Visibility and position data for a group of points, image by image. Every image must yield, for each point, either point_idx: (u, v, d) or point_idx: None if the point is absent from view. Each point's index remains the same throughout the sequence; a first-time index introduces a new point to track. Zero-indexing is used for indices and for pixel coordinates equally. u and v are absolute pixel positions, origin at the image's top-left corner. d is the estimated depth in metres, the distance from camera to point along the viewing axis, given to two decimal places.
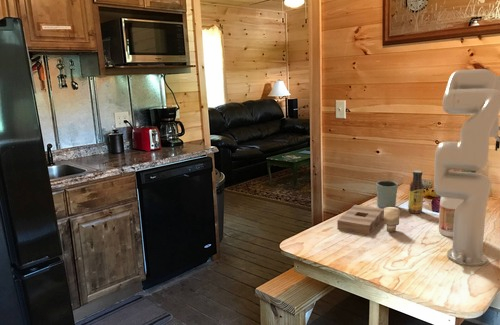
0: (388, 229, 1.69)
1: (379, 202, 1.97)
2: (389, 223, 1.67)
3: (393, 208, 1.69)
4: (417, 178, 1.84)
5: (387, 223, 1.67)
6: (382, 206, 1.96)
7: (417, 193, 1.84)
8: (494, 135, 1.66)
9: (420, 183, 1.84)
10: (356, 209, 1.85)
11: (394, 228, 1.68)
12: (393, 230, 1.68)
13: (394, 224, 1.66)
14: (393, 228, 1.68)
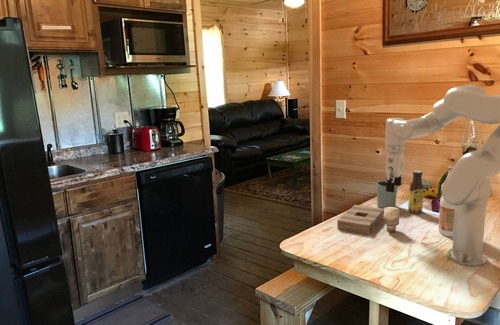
0: (388, 229, 1.69)
1: (379, 202, 1.97)
2: (389, 223, 1.67)
3: (393, 208, 1.69)
4: (417, 178, 1.84)
5: (387, 223, 1.67)
6: (382, 206, 1.96)
7: (417, 193, 1.84)
8: (403, 171, 1.66)
9: (420, 183, 1.84)
10: (356, 209, 1.85)
11: (394, 228, 1.68)
12: (393, 230, 1.68)
13: (394, 224, 1.66)
14: (393, 228, 1.68)
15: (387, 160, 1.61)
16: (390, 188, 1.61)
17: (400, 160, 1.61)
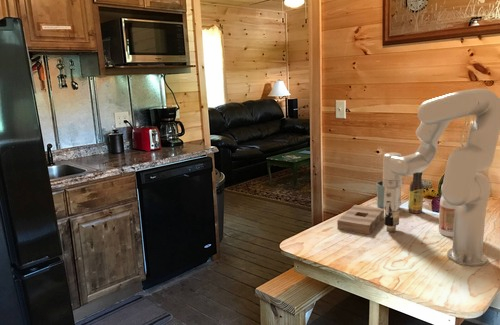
0: (388, 229, 1.69)
1: (379, 202, 1.97)
2: None
3: None
4: (417, 178, 1.84)
5: None
6: (382, 206, 1.96)
7: (417, 193, 1.84)
8: (400, 204, 1.69)
9: (420, 183, 1.84)
10: (356, 209, 1.85)
11: (394, 228, 1.68)
12: (393, 230, 1.68)
13: (394, 224, 1.66)
14: (393, 228, 1.68)
15: (385, 194, 1.64)
16: (389, 222, 1.65)
17: (397, 194, 1.64)
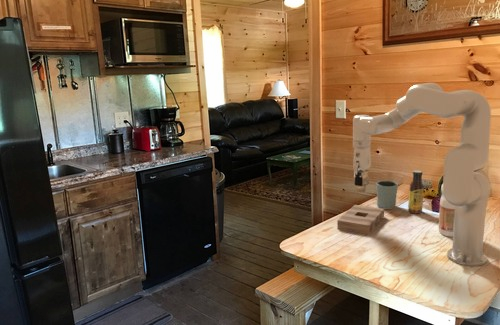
0: (358, 189, 1.76)
1: (379, 202, 1.97)
2: None
3: None
4: (417, 178, 1.84)
5: None
6: (382, 206, 1.96)
7: (417, 193, 1.84)
8: (370, 165, 1.76)
9: (420, 183, 1.84)
10: (356, 209, 1.85)
11: (364, 188, 1.75)
12: (363, 190, 1.75)
13: (363, 184, 1.73)
14: (362, 188, 1.75)
15: (354, 155, 1.70)
16: (358, 182, 1.72)
17: (366, 154, 1.70)
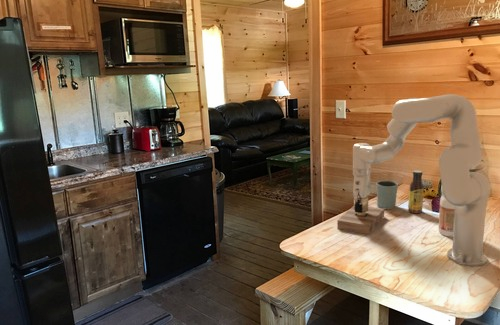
0: (358, 215, 1.79)
1: (379, 202, 1.97)
2: None
3: None
4: (417, 178, 1.84)
5: None
6: (382, 206, 1.96)
7: (417, 193, 1.84)
8: None
9: (420, 183, 1.84)
10: None
11: (363, 214, 1.78)
12: (362, 216, 1.78)
13: (363, 210, 1.76)
14: (362, 215, 1.78)
15: (354, 182, 1.73)
16: (358, 209, 1.75)
17: (366, 182, 1.73)
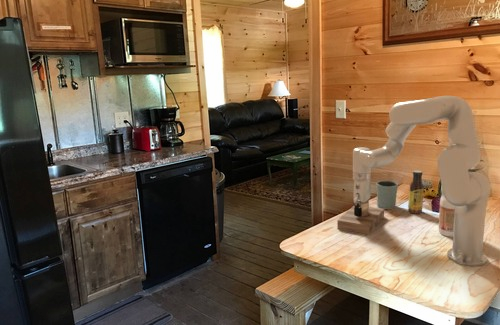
0: None
1: (379, 202, 1.97)
2: None
3: None
4: (417, 178, 1.84)
5: None
6: (382, 206, 1.96)
7: (417, 193, 1.84)
8: (370, 196, 1.79)
9: (420, 183, 1.84)
10: None
11: None
12: None
13: (363, 215, 1.76)
14: None
15: (354, 187, 1.74)
16: (358, 213, 1.74)
17: (366, 186, 1.74)
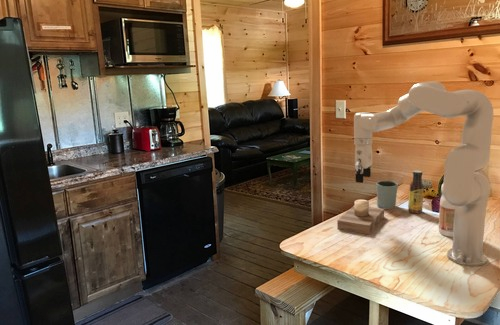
0: None
1: (379, 202, 1.97)
2: (359, 214, 1.77)
3: (363, 201, 1.79)
4: (417, 178, 1.84)
5: (357, 214, 1.77)
6: (382, 206, 1.96)
7: (417, 193, 1.84)
8: None
9: (420, 183, 1.84)
10: None
11: None
12: None
13: (363, 215, 1.76)
14: None
15: (356, 152, 1.69)
16: (359, 179, 1.70)
17: (368, 152, 1.70)
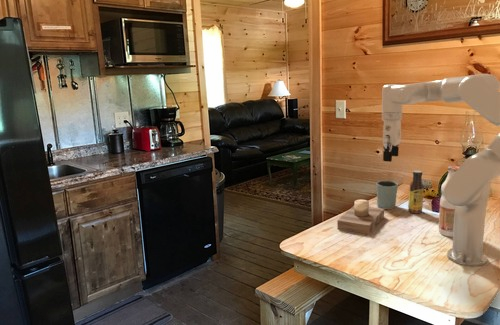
0: None
1: (379, 202, 1.97)
2: (359, 214, 1.77)
3: (363, 201, 1.79)
4: (417, 178, 1.84)
5: (357, 214, 1.77)
6: (382, 206, 1.96)
7: (417, 193, 1.84)
8: (400, 140, 1.60)
9: (420, 183, 1.84)
10: None
11: None
12: None
13: (363, 215, 1.76)
14: None
15: (384, 128, 1.55)
16: (387, 157, 1.55)
17: (397, 128, 1.55)
